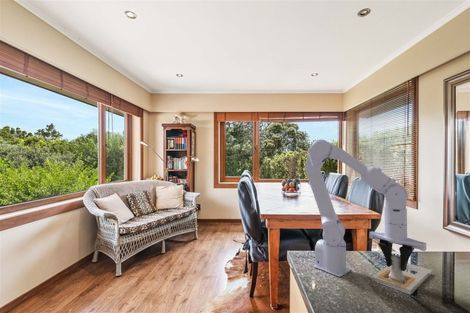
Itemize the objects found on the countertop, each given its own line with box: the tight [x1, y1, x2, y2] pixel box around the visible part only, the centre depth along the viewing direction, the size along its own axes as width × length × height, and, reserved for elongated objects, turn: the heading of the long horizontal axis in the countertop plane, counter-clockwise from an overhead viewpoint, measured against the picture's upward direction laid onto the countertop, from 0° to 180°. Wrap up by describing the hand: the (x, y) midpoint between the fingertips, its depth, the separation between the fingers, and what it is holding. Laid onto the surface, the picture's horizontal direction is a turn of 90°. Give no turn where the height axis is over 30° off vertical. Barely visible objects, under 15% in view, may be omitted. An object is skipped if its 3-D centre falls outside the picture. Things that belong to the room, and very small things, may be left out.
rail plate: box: [371, 262, 432, 295], centre depth 76 cm, size 10×20×1 cm, turn 128°
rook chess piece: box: [387, 253, 407, 284], centre depth 73 cm, size 4×4×8 cm
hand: (396, 267), depth 73 cm, fingers closed on rook chess piece, 3 cm apart
